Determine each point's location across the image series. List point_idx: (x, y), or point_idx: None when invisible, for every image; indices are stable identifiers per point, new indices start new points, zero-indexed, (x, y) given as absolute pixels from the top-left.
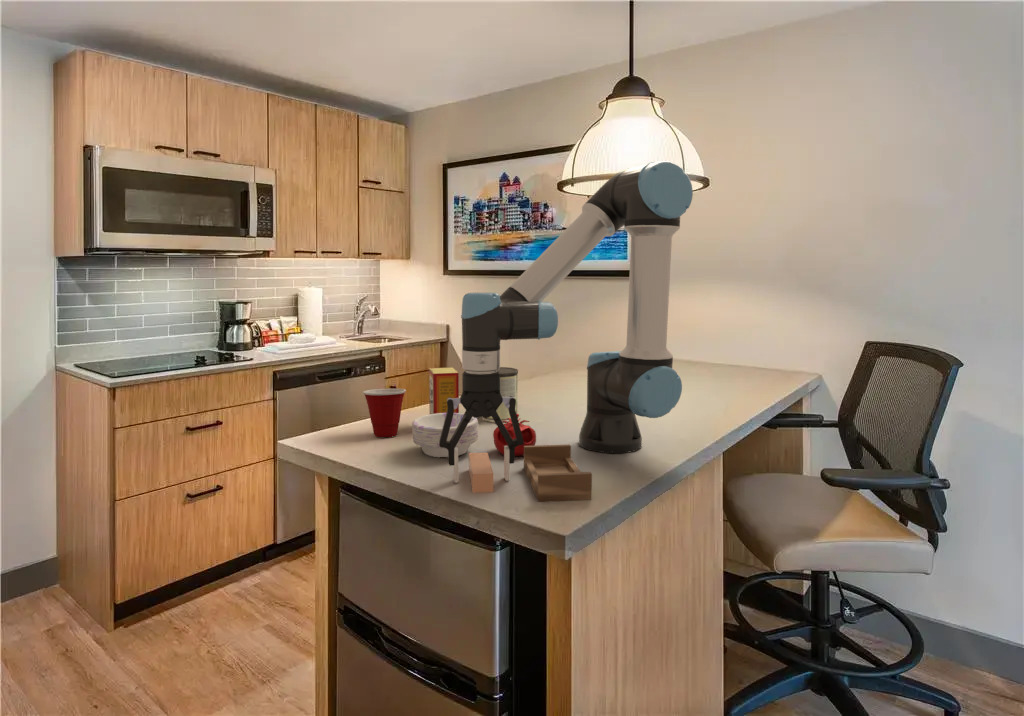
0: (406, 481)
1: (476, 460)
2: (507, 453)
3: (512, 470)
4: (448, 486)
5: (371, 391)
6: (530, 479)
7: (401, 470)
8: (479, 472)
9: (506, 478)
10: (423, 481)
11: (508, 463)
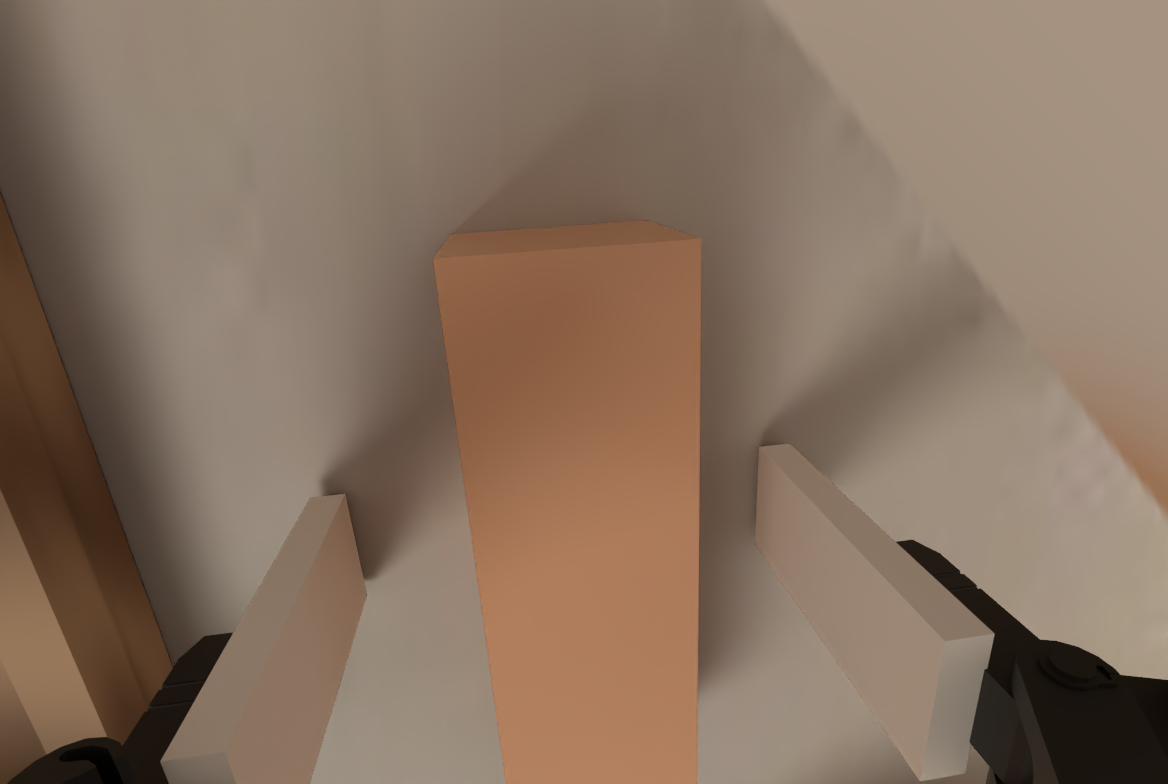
0: (1114, 488)
1: (634, 690)
2: (221, 702)
3: None
4: (837, 382)
5: None
6: (68, 470)
7: None
8: (614, 295)
9: (332, 504)
10: (1002, 490)
11: (260, 602)
